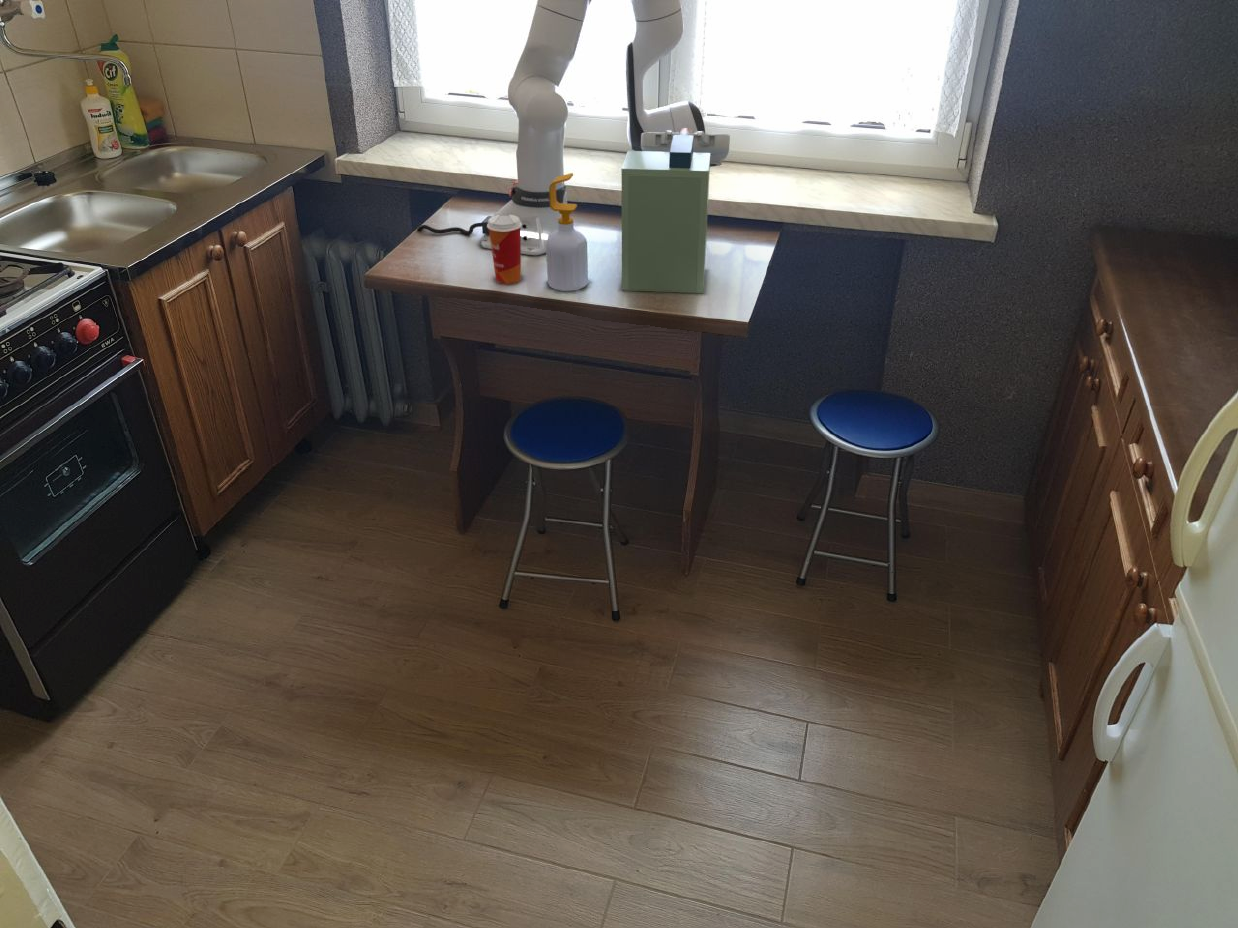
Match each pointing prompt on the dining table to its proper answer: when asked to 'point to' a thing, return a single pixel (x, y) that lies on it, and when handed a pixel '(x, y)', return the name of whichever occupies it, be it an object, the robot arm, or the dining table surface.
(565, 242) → the soap bottle
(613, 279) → the dining table surface
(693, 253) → the stand
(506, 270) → the paper cup
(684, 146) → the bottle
